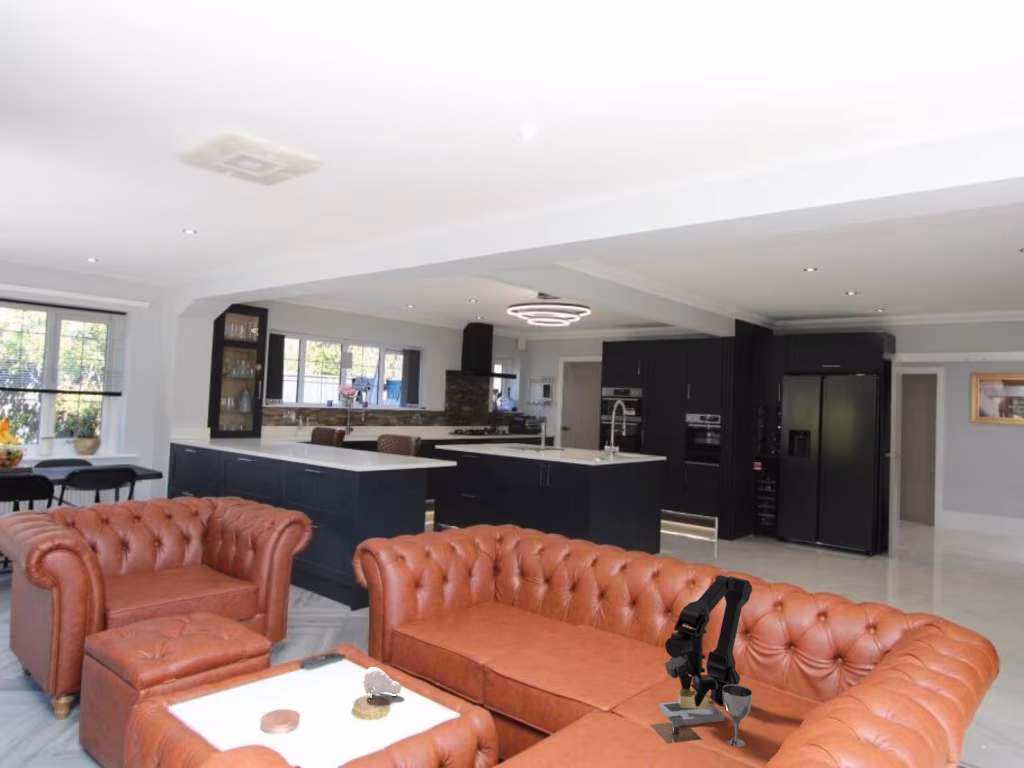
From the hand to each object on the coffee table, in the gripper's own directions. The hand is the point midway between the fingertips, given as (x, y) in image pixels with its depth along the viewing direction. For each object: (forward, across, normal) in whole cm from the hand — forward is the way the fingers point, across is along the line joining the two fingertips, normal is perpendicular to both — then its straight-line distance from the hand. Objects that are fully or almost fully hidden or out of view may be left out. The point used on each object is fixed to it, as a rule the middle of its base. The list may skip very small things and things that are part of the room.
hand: (691, 701), depth 211 cm
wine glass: (+5, +18, +4) cm, 19 cm away
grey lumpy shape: (+5, -33, -90) cm, 96 cm away
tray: (+5, 0, 0) cm, 5 cm away
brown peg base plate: (+5, +8, -10) cm, 14 cm away
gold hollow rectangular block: (+1, 0, 0) cm, 1 cm away
